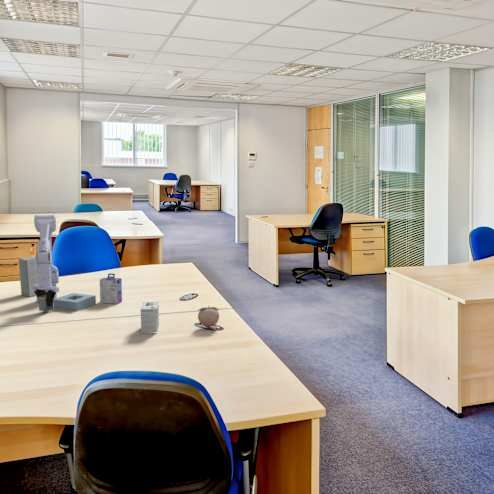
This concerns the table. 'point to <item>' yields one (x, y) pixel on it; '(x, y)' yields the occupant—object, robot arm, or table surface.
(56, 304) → the well block
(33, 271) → the hard drive box
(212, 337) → the table surface
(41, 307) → the two-tone metal cube
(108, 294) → the ink cartridge box
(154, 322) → the light bulb box
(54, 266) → the robot arm
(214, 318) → the decorative fruit
